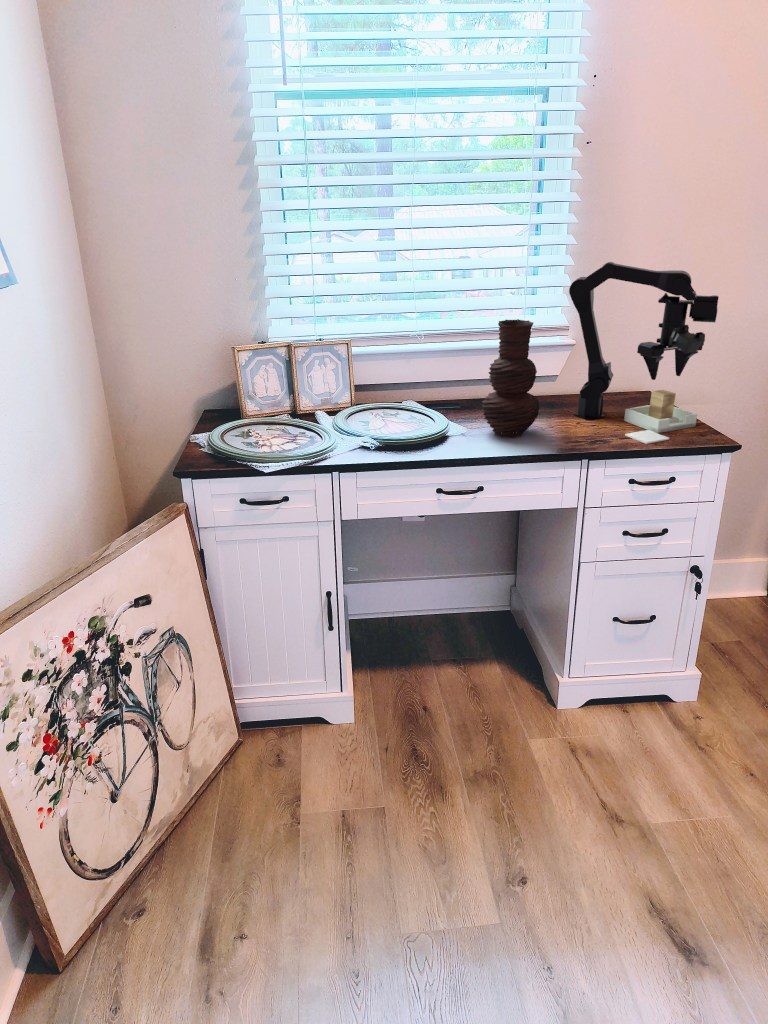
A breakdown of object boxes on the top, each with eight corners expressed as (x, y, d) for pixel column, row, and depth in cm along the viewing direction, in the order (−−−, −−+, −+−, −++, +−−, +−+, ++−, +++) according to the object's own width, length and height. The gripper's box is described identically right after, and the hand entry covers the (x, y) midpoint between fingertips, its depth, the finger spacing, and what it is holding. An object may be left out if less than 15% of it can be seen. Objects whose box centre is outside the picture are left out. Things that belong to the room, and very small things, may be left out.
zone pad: (646, 443, 198) (646, 442, 198) (624, 435, 204) (625, 433, 204) (669, 439, 201) (669, 438, 201) (647, 431, 207) (647, 429, 207)
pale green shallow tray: (657, 433, 206) (658, 420, 204) (624, 420, 216) (625, 408, 215) (695, 426, 211) (697, 414, 210) (661, 414, 222) (662, 402, 221)
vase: (468, 432, 208) (472, 321, 195) (506, 421, 217) (512, 315, 204) (511, 446, 197) (518, 329, 185) (549, 434, 206) (558, 322, 194)
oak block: (660, 419, 210) (663, 395, 207) (648, 415, 214) (651, 391, 211) (672, 417, 212) (675, 393, 209) (660, 413, 216) (663, 389, 213)
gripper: (671, 328, 192) (662, 388, 199) (723, 322, 200) (713, 380, 206) (639, 321, 201) (632, 379, 208) (690, 315, 209) (681, 371, 215)
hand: (665, 377), depth 209 cm, fingers open, 9 cm apart
